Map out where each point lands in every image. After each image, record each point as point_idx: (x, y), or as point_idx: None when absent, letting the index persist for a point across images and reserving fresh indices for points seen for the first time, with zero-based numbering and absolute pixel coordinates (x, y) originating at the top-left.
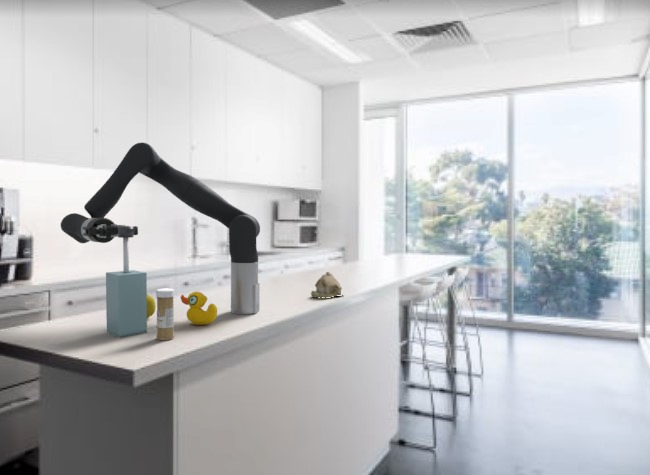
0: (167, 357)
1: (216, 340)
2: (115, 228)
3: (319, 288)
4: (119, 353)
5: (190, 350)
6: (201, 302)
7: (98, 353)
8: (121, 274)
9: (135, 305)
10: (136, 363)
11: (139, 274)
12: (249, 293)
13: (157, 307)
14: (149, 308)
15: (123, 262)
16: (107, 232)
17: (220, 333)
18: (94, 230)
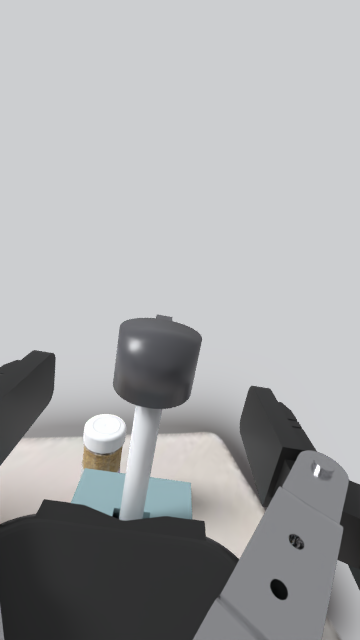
0: (166, 437)
1: (60, 443)
2: (77, 513)
3: None
4: (208, 496)
5: (126, 437)
6: None
7: (237, 523)
8: (172, 493)
9: None
10: (206, 446)
11: (112, 474)
12: None
13: (119, 464)
14: None
15: (146, 494)
16: (244, 405)
17: (7, 466)
18: (348, 489)
